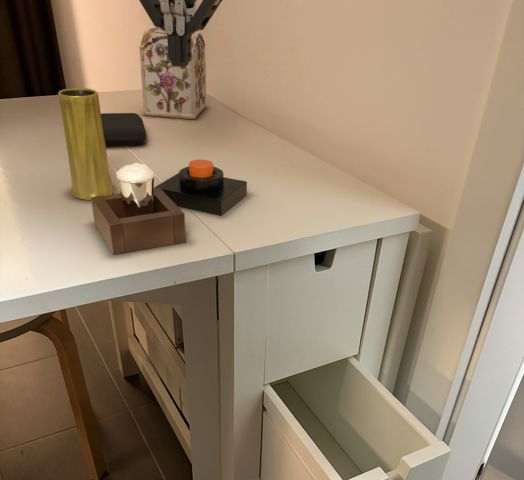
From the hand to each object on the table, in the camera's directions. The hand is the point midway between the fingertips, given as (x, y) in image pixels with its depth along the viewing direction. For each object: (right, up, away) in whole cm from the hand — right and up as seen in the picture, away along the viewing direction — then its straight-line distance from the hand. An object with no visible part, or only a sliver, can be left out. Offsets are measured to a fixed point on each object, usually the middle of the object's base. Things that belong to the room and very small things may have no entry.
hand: (180, 65), depth 75 cm
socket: (-5, -23, -2) cm, 24 cm away
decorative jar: (-8, +15, +50) cm, 52 cm away
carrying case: (-17, +3, +32) cm, 37 cm away
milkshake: (-5, -24, -2) cm, 24 cm away
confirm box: (+2, -16, +9) cm, 18 cm away
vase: (-15, -15, +9) cm, 23 cm away
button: (+2, -13, +7) cm, 15 cm away
